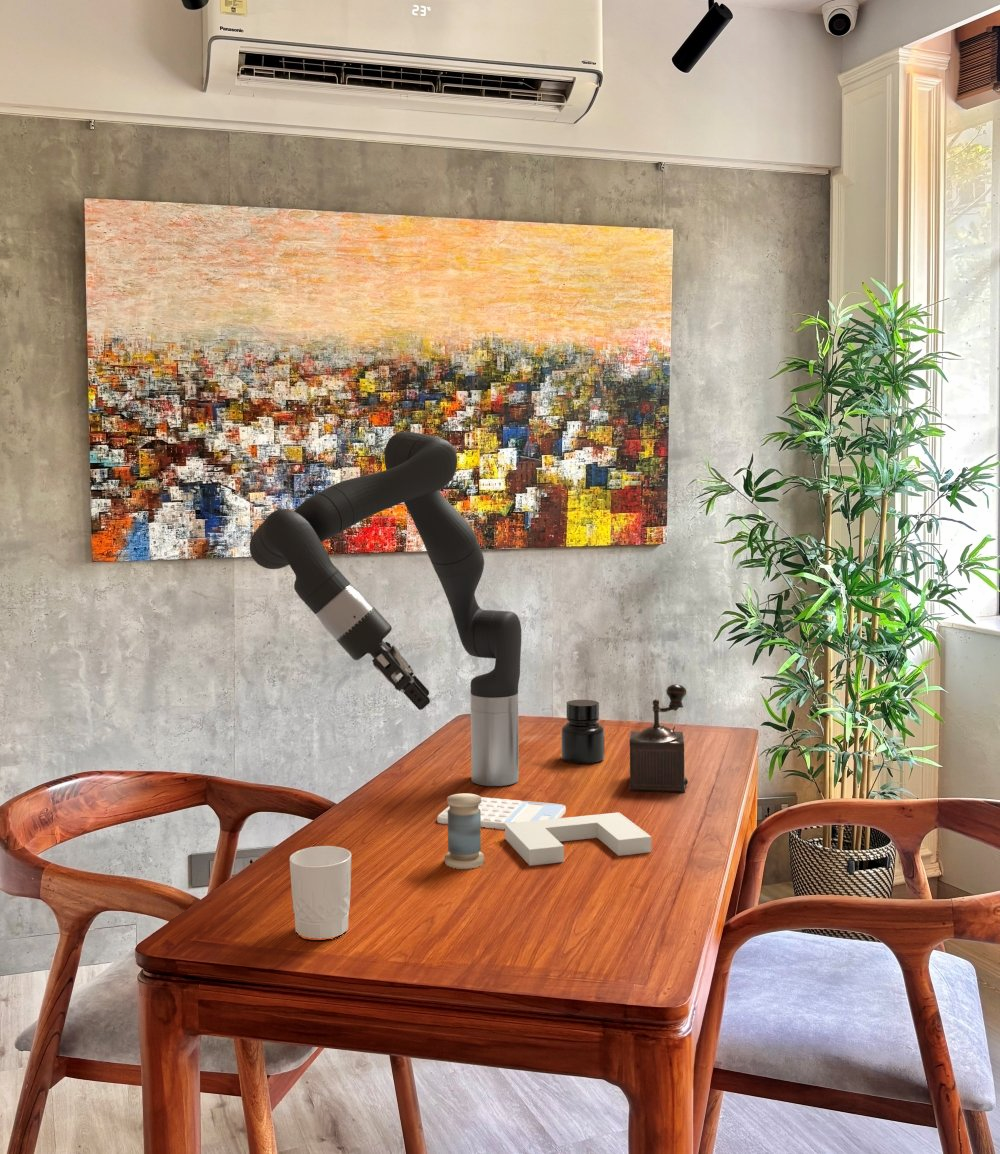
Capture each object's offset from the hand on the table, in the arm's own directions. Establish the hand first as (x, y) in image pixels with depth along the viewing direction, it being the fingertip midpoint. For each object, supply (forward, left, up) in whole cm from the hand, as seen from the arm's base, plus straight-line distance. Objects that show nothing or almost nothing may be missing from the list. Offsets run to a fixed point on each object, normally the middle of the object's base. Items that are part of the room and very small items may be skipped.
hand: (425, 701), depth 163 cm
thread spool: (+2, +5, -25) cm, 26 cm away
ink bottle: (-50, +44, -25) cm, 71 cm away
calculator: (-18, +17, -26) cm, 36 cm away
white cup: (+21, -19, -25) cm, 38 cm away
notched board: (0, +24, -25) cm, 35 cm away
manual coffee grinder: (-30, +52, -25) cm, 65 cm away
